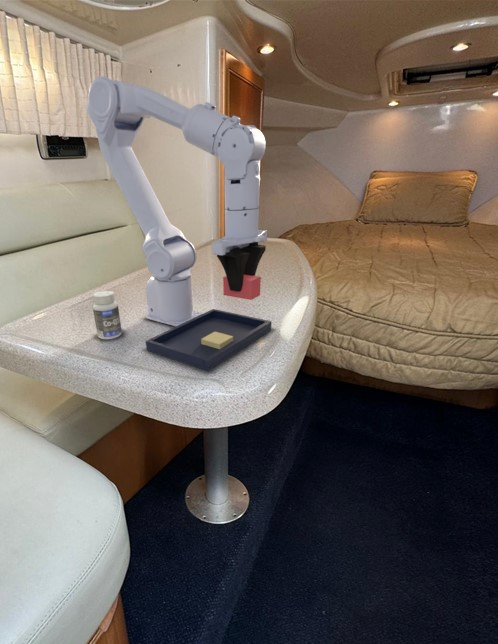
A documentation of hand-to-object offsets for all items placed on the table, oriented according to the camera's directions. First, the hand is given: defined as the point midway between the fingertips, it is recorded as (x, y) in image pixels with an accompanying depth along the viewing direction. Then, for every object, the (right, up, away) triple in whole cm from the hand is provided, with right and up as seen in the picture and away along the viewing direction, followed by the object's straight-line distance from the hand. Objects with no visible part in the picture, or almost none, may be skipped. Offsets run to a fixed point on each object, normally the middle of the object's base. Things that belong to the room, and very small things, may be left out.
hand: (241, 287), depth 67 cm
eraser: (0, -1, +1) cm, 1 cm away
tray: (-6, -10, -1) cm, 11 cm away
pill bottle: (-25, -9, +5) cm, 27 cm away
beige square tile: (-5, -10, -3) cm, 12 cm away
